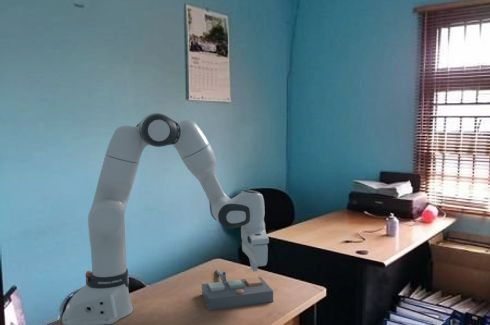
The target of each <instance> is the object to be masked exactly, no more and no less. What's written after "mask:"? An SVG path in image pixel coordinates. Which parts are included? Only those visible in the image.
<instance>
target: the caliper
mask: <svg viewBox="0 0 490 325" xmlns="http://www.w3.org/2000/svg"><path fill="white" fill-rule="evenodd" d="M215 272H216V274H217V275H218V276H219V277H220V281H221V282H224V281H227V274H226V272H225V271H221V270H220V269H219V268H217V269H215Z"/></svg>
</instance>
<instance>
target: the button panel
mask: <svg viewBox="0 0 490 325" xmlns="http://www.w3.org/2000/svg"><path fill="white" fill-rule="evenodd" d="M258 278H259V279H260V281H261V282H262V285H260V286H252V287H248V286H247V285H246V283H245V279H246V278H241V279H240V280H241V282H242V283H243V284H244V288H236V289H229V288H228V286H227V281H228V280H226V281H224V282H222V281H221V282H222V283H223V285H224V286H225V290H220V291H212V292H210V290H209V288H208V283H207V282H206V283H201V296H202V298H203V299H204V302H205V304H206V307H207V309H208V311H216V310H223V309H230V308H237V307H244V306H250V305H251V306H253V305H260V304H266V303H267V304H268V303H273V302H274V290H273V289H272V287H270V285H268V283H267V282H266V281H265V280H264V279H263V278H262V277H261V276H259V277H258Z"/></svg>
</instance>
